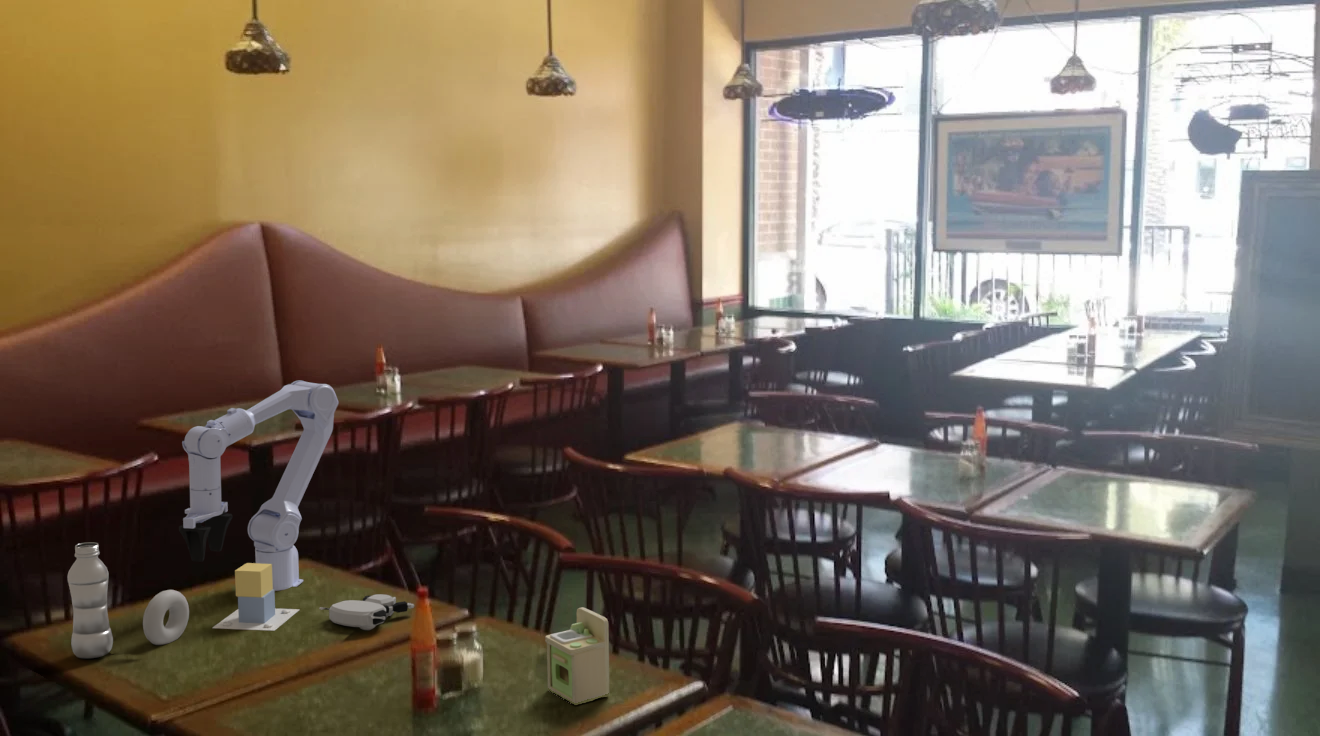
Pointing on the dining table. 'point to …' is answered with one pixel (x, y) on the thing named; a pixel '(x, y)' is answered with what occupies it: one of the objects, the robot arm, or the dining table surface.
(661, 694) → the dining table surface
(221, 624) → the plate
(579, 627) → the toy sink
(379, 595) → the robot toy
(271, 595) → the slate block
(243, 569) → the mustard block
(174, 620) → the donut
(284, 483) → the robot arm
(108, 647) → the plastic bottle
